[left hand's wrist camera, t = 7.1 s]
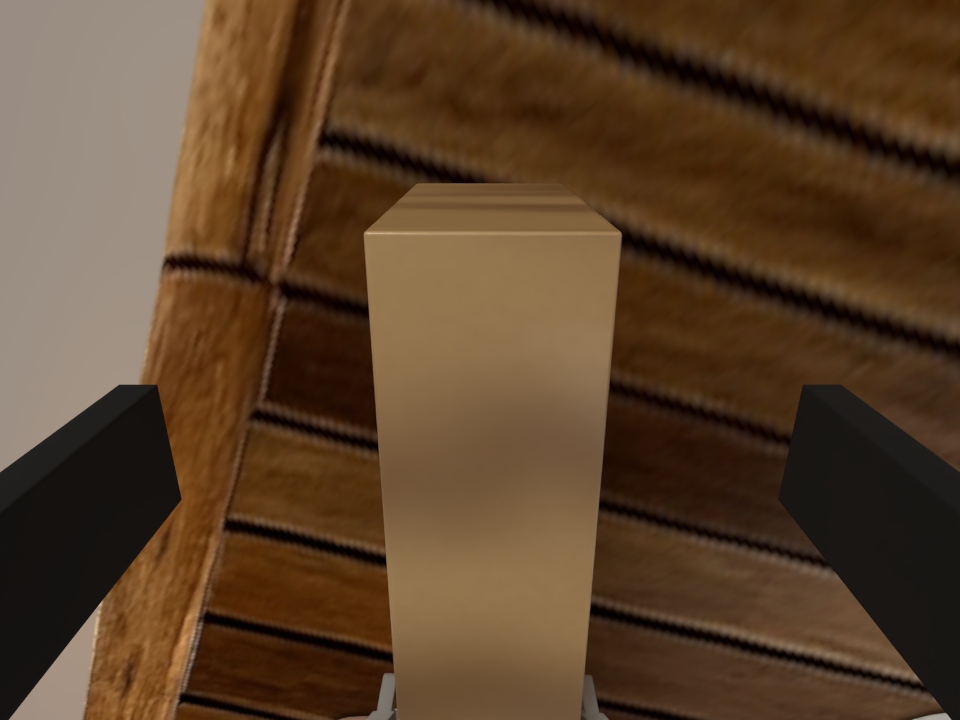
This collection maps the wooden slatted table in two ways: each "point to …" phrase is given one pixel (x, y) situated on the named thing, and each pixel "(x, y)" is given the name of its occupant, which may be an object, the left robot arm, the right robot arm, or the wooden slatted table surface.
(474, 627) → the bar
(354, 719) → the anatomical model
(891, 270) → the wooden slatted table surface
